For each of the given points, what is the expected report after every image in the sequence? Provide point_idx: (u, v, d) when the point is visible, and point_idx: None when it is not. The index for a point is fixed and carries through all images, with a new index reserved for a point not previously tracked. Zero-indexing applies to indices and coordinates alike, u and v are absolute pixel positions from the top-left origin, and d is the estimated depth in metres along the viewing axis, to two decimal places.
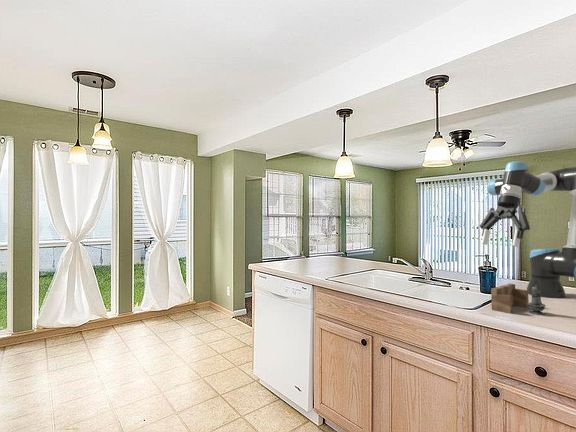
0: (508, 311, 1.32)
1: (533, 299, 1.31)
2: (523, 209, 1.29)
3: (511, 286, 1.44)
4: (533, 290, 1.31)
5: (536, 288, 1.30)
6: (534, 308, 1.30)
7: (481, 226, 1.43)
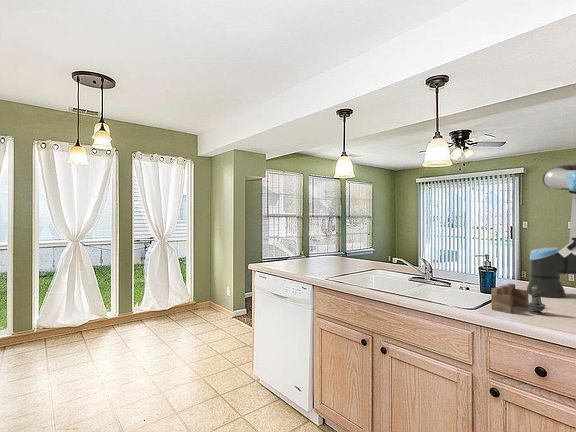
0: (508, 311, 1.32)
1: (533, 299, 1.31)
2: None
3: (511, 286, 1.44)
4: (533, 290, 1.31)
5: (536, 288, 1.30)
6: (534, 308, 1.30)
7: None
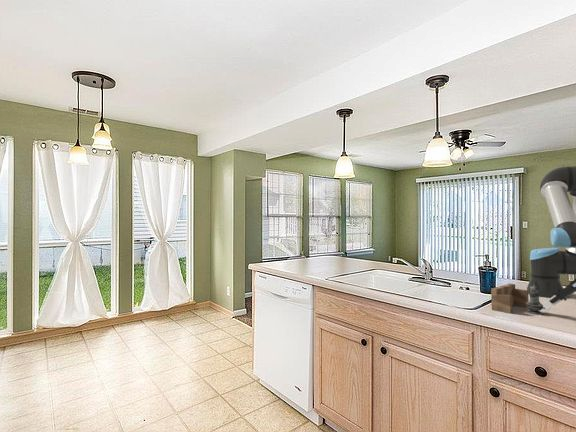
0: (508, 311, 1.32)
1: (531, 299, 1.32)
2: None
3: (511, 286, 1.44)
4: (532, 289, 1.31)
5: (534, 288, 1.31)
6: (532, 308, 1.30)
7: (562, 298, 1.22)
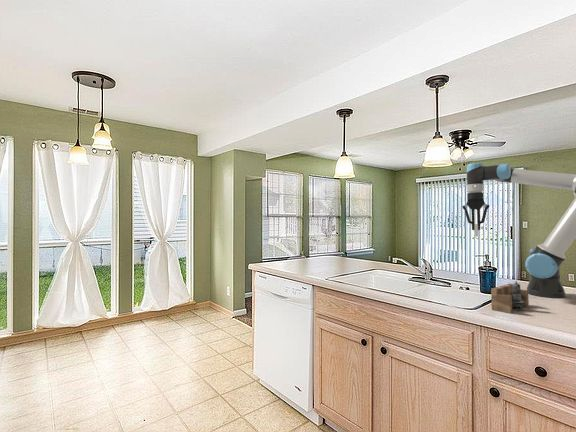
0: (508, 311, 1.32)
1: (513, 296, 1.37)
2: (488, 207, 1.69)
3: (511, 286, 1.44)
4: (514, 287, 1.37)
5: (516, 285, 1.37)
6: (514, 304, 1.36)
7: (470, 221, 1.72)
